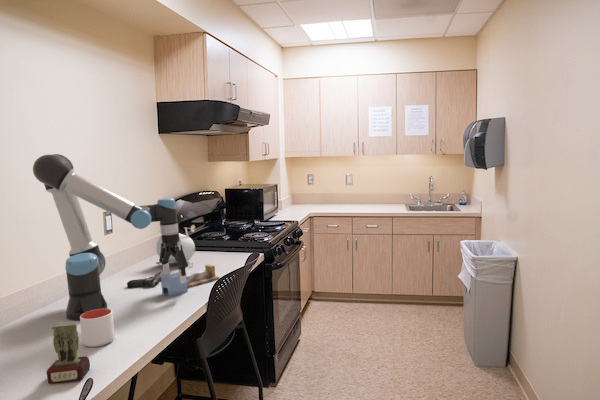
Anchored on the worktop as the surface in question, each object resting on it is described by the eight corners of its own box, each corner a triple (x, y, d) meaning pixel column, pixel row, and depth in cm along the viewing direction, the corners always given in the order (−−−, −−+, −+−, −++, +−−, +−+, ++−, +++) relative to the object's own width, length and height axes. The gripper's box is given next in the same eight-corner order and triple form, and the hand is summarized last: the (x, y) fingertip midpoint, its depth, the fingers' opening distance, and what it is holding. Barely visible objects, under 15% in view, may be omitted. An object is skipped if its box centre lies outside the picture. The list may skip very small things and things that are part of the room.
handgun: (143, 271, 240) (169, 269, 239) (143, 277, 240) (170, 276, 239) (126, 282, 220) (155, 280, 219) (126, 289, 220) (155, 287, 219)
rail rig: (183, 289, 213) (182, 276, 213) (169, 285, 222) (168, 272, 221) (219, 279, 227) (218, 266, 227) (205, 275, 236) (204, 263, 235)
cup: (78, 343, 158) (75, 314, 157) (107, 333, 165) (105, 306, 164) (89, 351, 151) (86, 321, 150) (120, 341, 158) (117, 312, 157)
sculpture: (46, 386, 130) (39, 334, 128) (56, 372, 138) (50, 323, 136) (83, 381, 131) (77, 330, 130) (91, 368, 139) (86, 319, 137)
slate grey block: (169, 296, 204) (168, 279, 203) (162, 294, 208) (160, 276, 207) (187, 291, 210) (186, 274, 209) (180, 289, 214) (178, 272, 213)
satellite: (207, 229, 269) (171, 232, 279) (186, 222, 252) (148, 225, 261) (203, 269, 263) (167, 270, 272) (182, 264, 245) (144, 265, 255)
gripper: (193, 234, 200) (198, 282, 202) (163, 229, 217) (168, 274, 220) (177, 237, 195) (182, 287, 197) (148, 232, 212) (153, 278, 215)
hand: (175, 280), depth 208 cm, fingers open, 13 cm apart
